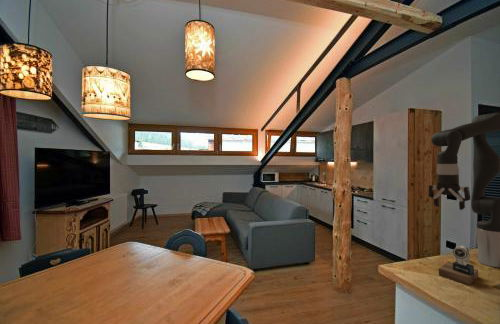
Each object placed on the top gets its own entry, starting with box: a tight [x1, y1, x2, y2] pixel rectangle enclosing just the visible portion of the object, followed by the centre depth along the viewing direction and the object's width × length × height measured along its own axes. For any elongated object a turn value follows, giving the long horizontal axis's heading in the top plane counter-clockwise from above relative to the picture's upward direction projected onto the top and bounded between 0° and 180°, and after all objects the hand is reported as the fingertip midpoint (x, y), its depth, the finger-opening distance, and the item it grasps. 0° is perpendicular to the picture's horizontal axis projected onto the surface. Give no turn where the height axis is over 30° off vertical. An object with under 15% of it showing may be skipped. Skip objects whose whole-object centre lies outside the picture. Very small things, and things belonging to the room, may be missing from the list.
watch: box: [452, 245, 475, 275], centre depth 94 cm, size 6×8×11 cm
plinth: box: [438, 261, 479, 286], centre depth 96 cm, size 12×10×3 cm
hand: (448, 208), depth 100 cm, fingers open, 8 cm apart
